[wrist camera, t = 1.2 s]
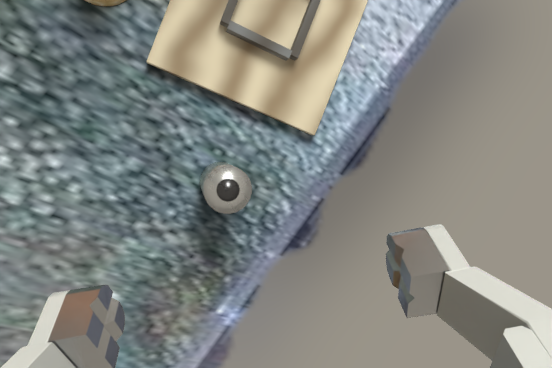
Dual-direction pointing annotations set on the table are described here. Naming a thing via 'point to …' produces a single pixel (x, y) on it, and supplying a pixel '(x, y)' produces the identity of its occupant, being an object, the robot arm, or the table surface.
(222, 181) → the sleeve
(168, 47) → the hub board
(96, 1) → the hand bell
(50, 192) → the table surface
